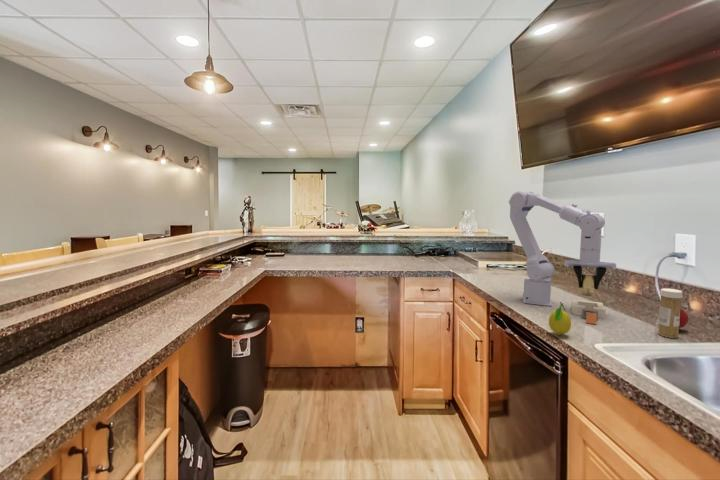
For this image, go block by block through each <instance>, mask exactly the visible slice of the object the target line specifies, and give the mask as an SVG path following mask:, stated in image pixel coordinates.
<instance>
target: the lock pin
mask: <svg viewBox="0 0 720 480" xmlns="http://www.w3.org/2000/svg"><path fill="white" fill-rule="evenodd" d="M597 321H598V320H597V314H596V313H589V312H586V319H585V323H586V324H589V325H590V324H591V325H597Z"/></svg>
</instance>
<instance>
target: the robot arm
mask: <svg viewBox="0 0 720 480" xmlns="http://www.w3.org/2000/svg"><path fill="white" fill-rule="evenodd" d="M508 204H509V209H510V210H509V219H510V221H511V225H513V228H514V231H515V232H516V235H517V237H518V240H519V242H520V244H521V246H522V249H523V251H524V254H525V256H526V261H525V266H526V274H527V276H528V278H525V279H524V280H523V293H522V302H523V304H530V305H539V306H545V307H546V306H547V307H552V300H551V296H552V295H551V293H552V277H553V276H554V274H555V273H556V269H555V266H554V265H553V264H552V263H551V262H550V261H549V259H548V256H547V257H546V255H544V254H543V252H542V250H541V248H540V246H539V244H538V242H537V240H536V236H535V235H534V233H533V230H532V228H531V226H530V224H529V221H528V219H527V216H528V214H529V212H530V211H531V210H532V209H533V208H534V207H536V206H537V207H538V206H539V207H541V208H544V209H546V210H548V211H551V212H554V213H556V214H558V216H559V218H560V219H562V220H563V221H566V222H568V223H570V224H573V225H574V226H577V227H579V229H580V230H581V233H580V234H581V235H580V246H579V249H580V250H579V260H577V259H576V260H575V259H574V260H573V259H565V260H564V267H572V268H573V269H572V270H573V271H574V273H575V275H576V276H575V277H576V279H577V284H578V288H579V289H581V287H582V283H581V281H582V274H583V268H593V269H594V268H595V275H596V283H595V290H598V289H599V286H600V284H601V281H602V279H603V277H604V275H606V273H607V269H609V270H617V263H616V262H606V261H601V248H602V229H603V228H604V226H605V223H606V221H605V218H604V217H603V216H602V215H600V214H599V213H591V212H592V210H586V209H585V210H584V209H583V208H580V207H578V204H575V203H572V204H570V203H568V204H566V205H563V204H561V203H560V202H556V201H555V200H553V199H550V198H549V197H546V196H545V195H541V194H539V193H535V192H532V191H528V192H527V191H516V192H514V193H512V195H511V197H510V198H509V200H508Z"/></svg>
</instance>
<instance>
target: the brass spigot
mask: <svg viewBox="0 0 720 480" xmlns="http://www.w3.org/2000/svg"><path fill="white" fill-rule="evenodd" d="M581 283H582V287H581V288H580V294H581V296H586V297H594V296H595V295H596V289H595V283H596V274H593V273H582V277H581Z"/></svg>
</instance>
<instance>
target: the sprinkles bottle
mask: <svg viewBox="0 0 720 480" xmlns="http://www.w3.org/2000/svg"><path fill="white" fill-rule="evenodd" d="M659 295H660V301H659V303H660V304H659V310H658V311H659V313H658V331H657V334H658V335H659V336H661V337H664V336H665V337H664V338H668V337H669V338H670V339H678V338H679V337H680V335H679V329H680V328H679V322H680V308H681V303H682V302H681V300H682V298H683V291H682V290H680V289H676V288H665V287H664V288H661V289H660V293H659Z"/></svg>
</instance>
